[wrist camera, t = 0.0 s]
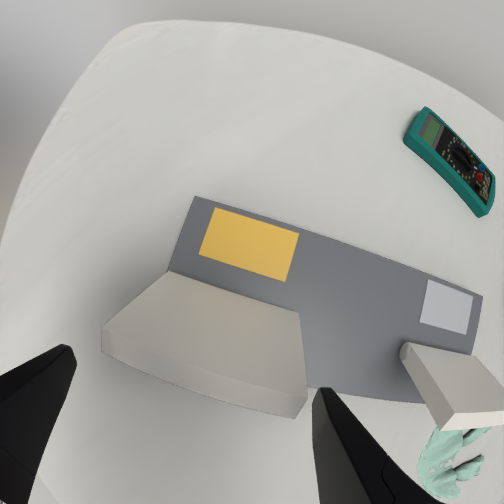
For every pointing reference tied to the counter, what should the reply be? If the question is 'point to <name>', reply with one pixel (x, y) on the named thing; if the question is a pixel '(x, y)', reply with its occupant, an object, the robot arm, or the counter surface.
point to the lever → (454, 387)
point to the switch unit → (330, 297)
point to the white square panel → (213, 344)
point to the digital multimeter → (452, 160)
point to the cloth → (441, 451)
